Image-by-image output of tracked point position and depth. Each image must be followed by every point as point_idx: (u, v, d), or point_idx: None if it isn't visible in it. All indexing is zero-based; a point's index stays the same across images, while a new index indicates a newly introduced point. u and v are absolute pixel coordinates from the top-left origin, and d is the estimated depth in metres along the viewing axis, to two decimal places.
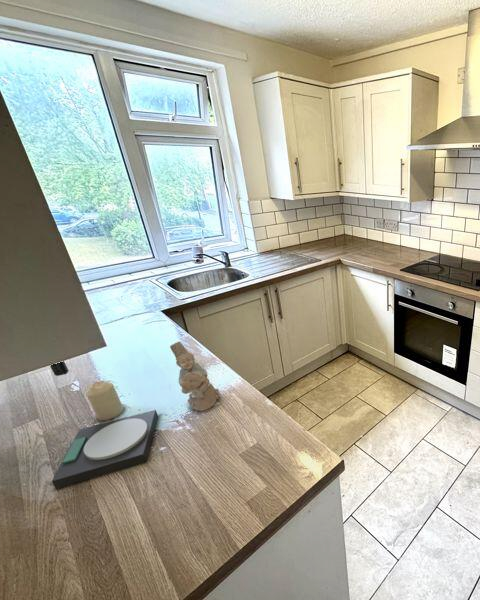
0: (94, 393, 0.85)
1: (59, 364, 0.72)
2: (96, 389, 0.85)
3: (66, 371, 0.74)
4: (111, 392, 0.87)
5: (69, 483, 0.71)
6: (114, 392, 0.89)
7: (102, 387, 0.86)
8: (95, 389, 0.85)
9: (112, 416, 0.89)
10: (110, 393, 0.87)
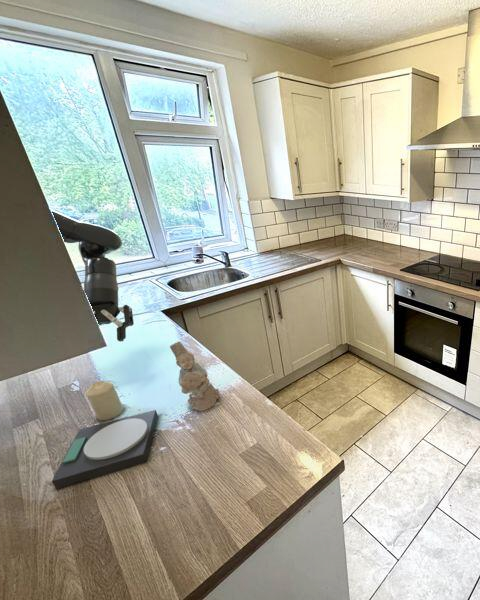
0: (94, 393, 0.85)
1: None
2: (96, 389, 0.85)
3: None
4: (111, 392, 0.87)
5: (69, 483, 0.71)
6: (114, 392, 0.89)
7: (102, 387, 0.86)
8: (95, 389, 0.85)
9: (112, 416, 0.89)
10: (110, 393, 0.87)
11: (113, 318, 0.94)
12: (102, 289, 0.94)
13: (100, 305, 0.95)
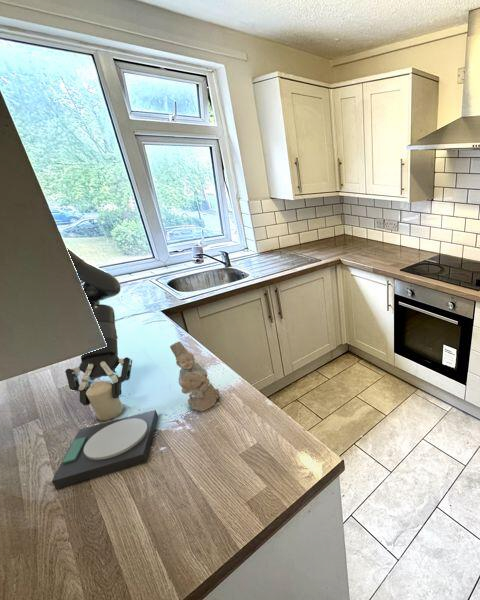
0: (94, 393, 0.85)
1: None
2: (96, 389, 0.85)
3: None
4: (111, 392, 0.87)
5: (69, 483, 0.71)
6: None
7: (102, 387, 0.86)
8: (95, 389, 0.85)
9: (112, 416, 0.89)
10: (110, 393, 0.87)
11: (110, 372, 0.88)
12: None
13: (99, 356, 0.89)
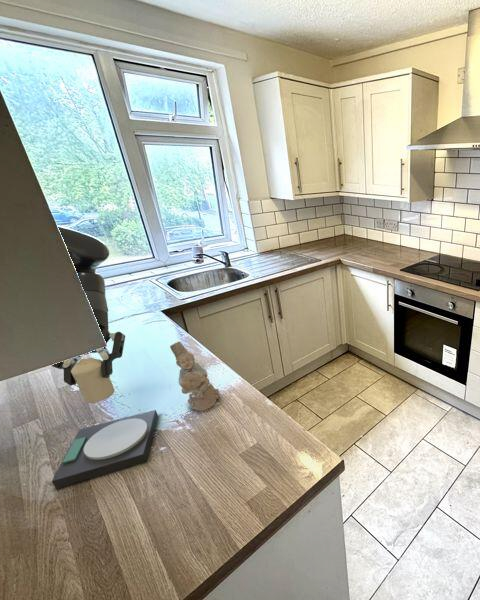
0: (80, 371, 0.73)
1: None
2: (83, 366, 0.74)
3: None
4: (100, 370, 0.76)
5: (69, 483, 0.71)
6: None
7: (90, 364, 0.75)
8: (82, 366, 0.74)
9: (102, 398, 0.77)
10: (99, 372, 0.76)
11: None
12: None
13: None
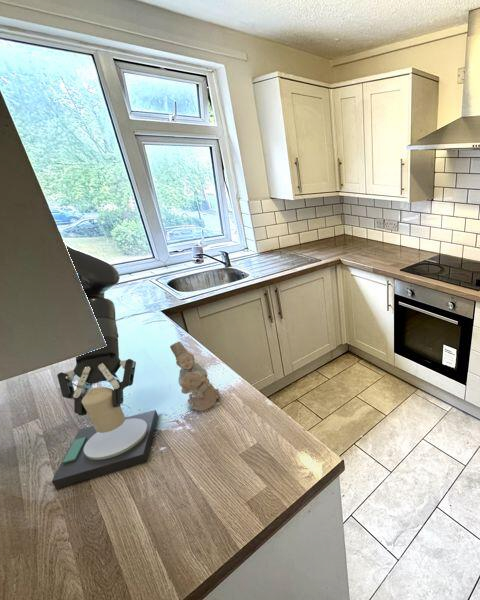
0: (91, 402, 0.72)
1: None
2: (93, 397, 0.72)
3: None
4: (111, 399, 0.74)
5: (69, 483, 0.71)
6: None
7: (101, 394, 0.73)
8: (92, 397, 0.72)
9: (113, 428, 0.76)
10: (110, 401, 0.74)
11: (110, 377, 0.75)
12: None
13: (97, 358, 0.76)
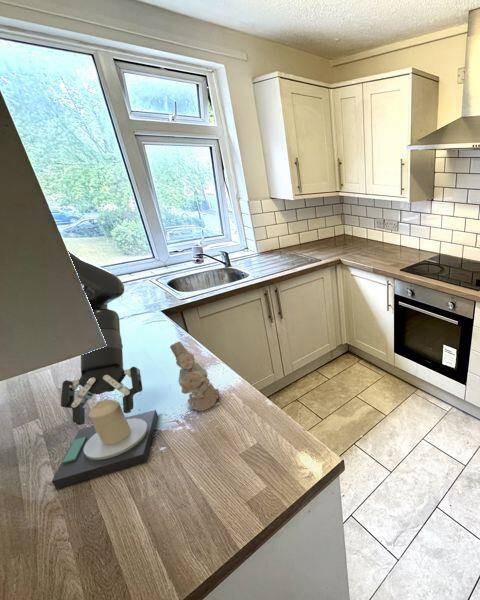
0: (97, 415, 0.73)
1: None
2: (100, 410, 0.74)
3: None
4: (117, 412, 0.76)
5: (69, 483, 0.71)
6: (120, 412, 0.77)
7: (107, 407, 0.75)
8: (99, 410, 0.74)
9: (118, 440, 0.77)
10: (116, 414, 0.76)
11: (118, 385, 0.77)
12: (105, 349, 0.78)
13: (102, 369, 0.77)
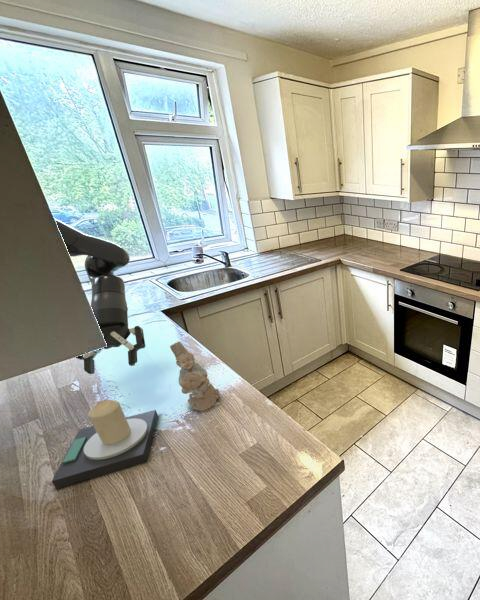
0: (97, 415, 0.73)
1: None
2: (100, 410, 0.74)
3: None
4: (117, 412, 0.76)
5: (69, 483, 0.71)
6: (120, 412, 0.77)
7: (107, 407, 0.75)
8: (99, 410, 0.74)
9: (118, 440, 0.77)
10: (116, 414, 0.76)
11: (124, 341, 0.87)
12: (112, 309, 0.87)
13: (109, 327, 0.87)
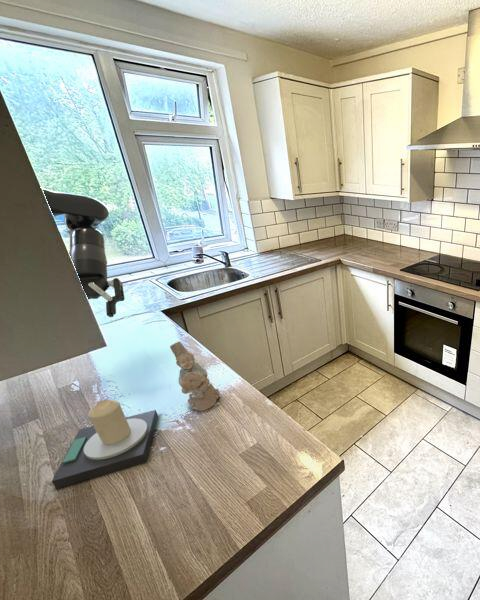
0: (97, 415, 0.73)
1: None
2: (100, 410, 0.74)
3: None
4: (117, 412, 0.76)
5: (69, 483, 0.71)
6: (120, 412, 0.77)
7: (107, 407, 0.75)
8: (99, 410, 0.74)
9: (118, 440, 0.77)
10: (116, 414, 0.76)
11: (102, 291, 0.86)
12: (90, 260, 0.87)
13: (87, 278, 0.87)
